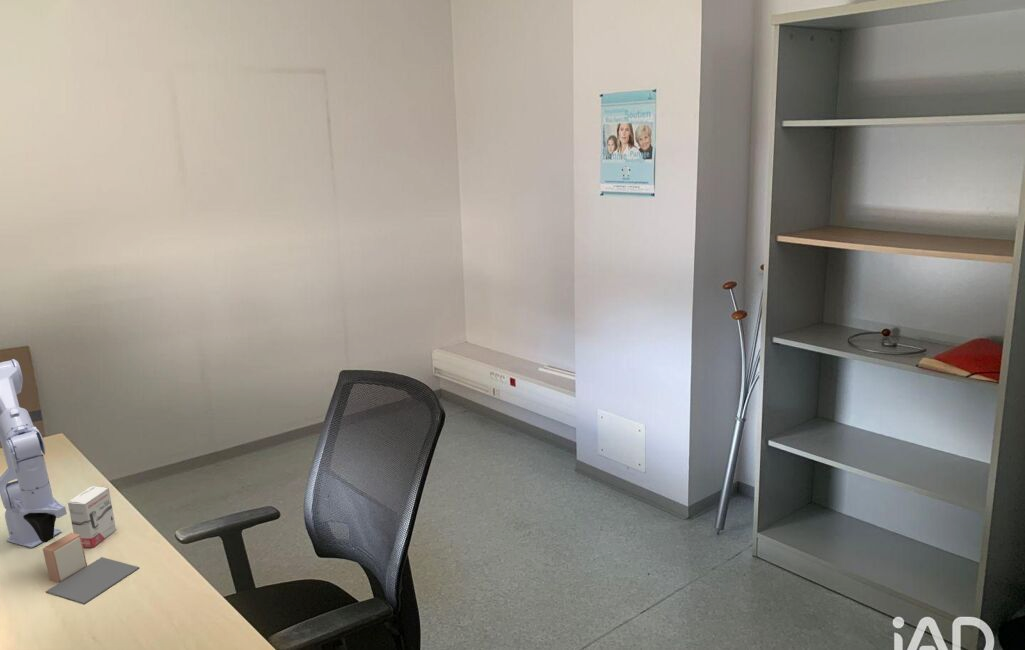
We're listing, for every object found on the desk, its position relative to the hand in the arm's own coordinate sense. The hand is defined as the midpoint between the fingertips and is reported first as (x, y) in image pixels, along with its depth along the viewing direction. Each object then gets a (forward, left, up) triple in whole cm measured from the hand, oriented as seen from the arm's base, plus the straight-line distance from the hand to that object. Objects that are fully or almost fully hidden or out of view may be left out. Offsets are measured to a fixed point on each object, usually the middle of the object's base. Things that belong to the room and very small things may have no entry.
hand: (47, 539), depth 176 cm
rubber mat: (+13, 0, -7) cm, 15 cm away
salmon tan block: (+5, 0, -8) cm, 9 cm away
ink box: (-2, +13, -8) cm, 15 cm away
